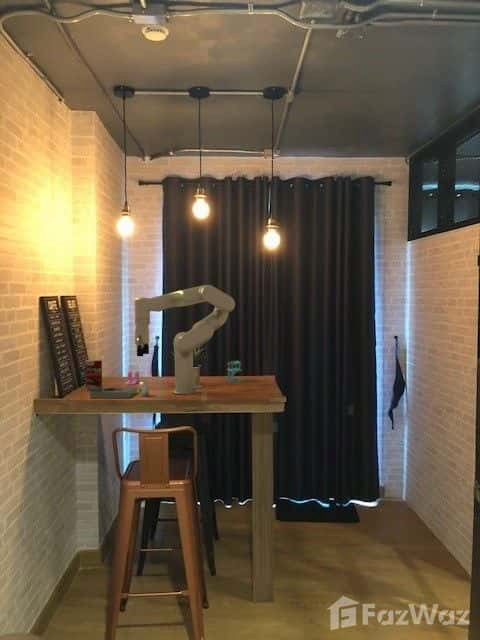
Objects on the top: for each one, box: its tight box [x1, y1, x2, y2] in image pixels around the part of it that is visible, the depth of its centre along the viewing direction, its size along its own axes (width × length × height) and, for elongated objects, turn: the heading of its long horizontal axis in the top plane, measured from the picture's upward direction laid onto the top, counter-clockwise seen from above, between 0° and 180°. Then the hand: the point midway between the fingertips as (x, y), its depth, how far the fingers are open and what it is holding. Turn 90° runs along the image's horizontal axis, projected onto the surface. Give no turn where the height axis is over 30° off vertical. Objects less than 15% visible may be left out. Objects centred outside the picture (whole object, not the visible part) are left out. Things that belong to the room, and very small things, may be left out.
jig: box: [89, 386, 138, 399], centre depth 265 cm, size 20×14×3 cm
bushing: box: [138, 380, 150, 397], centre depth 263 cm, size 5×5×7 cm
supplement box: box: [85, 359, 103, 391], centre depth 283 cm, size 9×5×16 cm, turn 105°
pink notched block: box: [124, 370, 140, 387], centre depth 297 cm, size 13×6×7 cm, turn 177°
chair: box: [226, 360, 244, 383], centre depth 302 cm, size 8×8×12 cm
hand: (143, 355), depth 263 cm, fingers open, 9 cm apart
